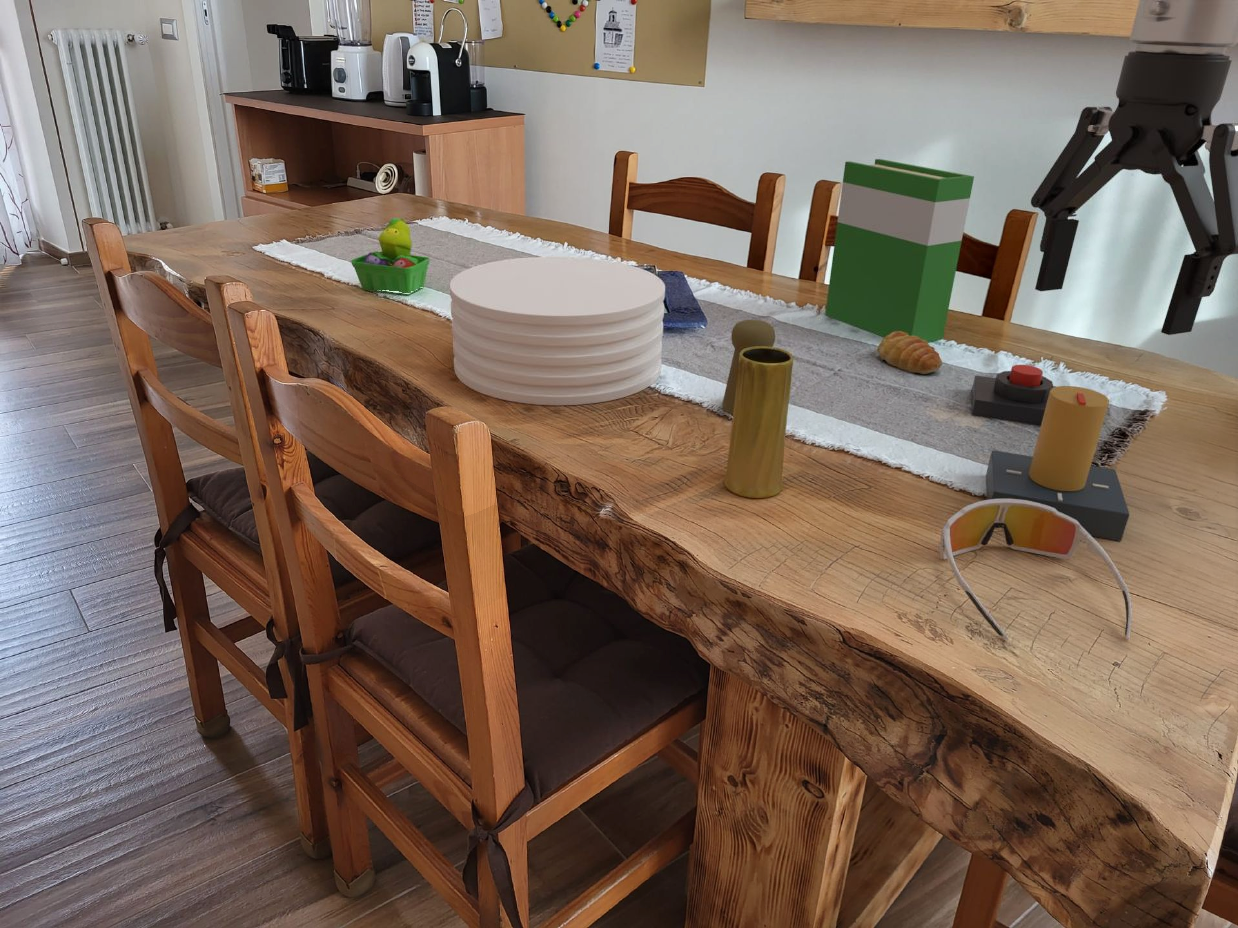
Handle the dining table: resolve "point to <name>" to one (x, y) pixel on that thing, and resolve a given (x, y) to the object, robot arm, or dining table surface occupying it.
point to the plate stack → (557, 329)
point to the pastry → (909, 353)
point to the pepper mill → (744, 337)
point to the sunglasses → (1020, 539)
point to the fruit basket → (392, 263)
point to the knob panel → (1063, 494)
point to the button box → (1010, 399)
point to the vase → (759, 422)
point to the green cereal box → (897, 247)
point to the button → (1025, 375)
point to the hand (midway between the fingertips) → (1107, 309)
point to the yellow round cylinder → (1068, 438)
